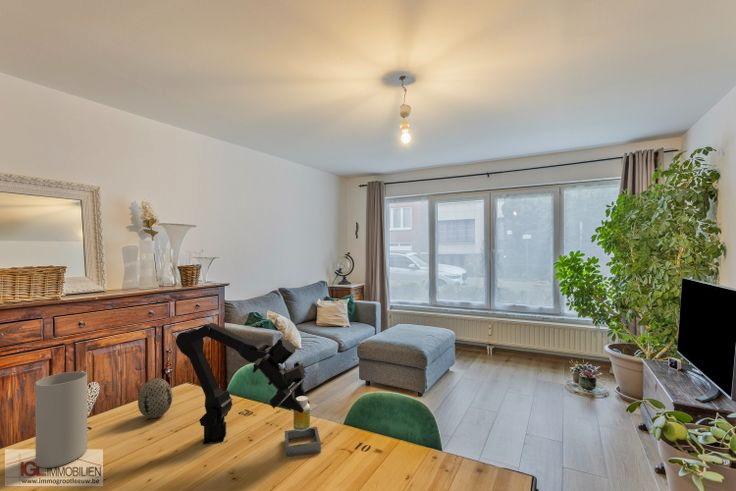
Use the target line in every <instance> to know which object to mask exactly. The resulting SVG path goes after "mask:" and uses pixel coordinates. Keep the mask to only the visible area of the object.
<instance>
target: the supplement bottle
mask: <svg viewBox="0 0 736 491" xmlns="http://www.w3.org/2000/svg"><path fill="white" fill-rule="evenodd" d="M306 396H307V395H306ZM306 396H299V397H297V398H296V399H297V401H298V402H299V404H300V405H301V406H302V408H303V410H304V411H303V412H302V413H300V412H298V411H295V410H293V430H296V431H305V430H307V429H309V428H311V405H310V403H309V404H308V400H309V398H308V396H307V397H306Z"/></svg>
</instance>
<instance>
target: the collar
mask: <svg viewBox="0 0 736 491" xmlns="http://www.w3.org/2000/svg"><path fill="white" fill-rule="evenodd" d="M310 438H314V441H313V442H308V443H300V444H294V445H293V444H292V445H290V444H289V442H290V441H296V440H304V439H310ZM284 450H285V458H286V459H287V458H293V457H300V456H306V455H312V454H318V453H319V454H320V453H322V442H321V439H320V434H319V430H318V427H317V426H312V427H311V426H310V427H309V429H307V430H305V431H296V430H295V429H290V430H284Z"/></svg>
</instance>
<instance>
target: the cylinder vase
mask: <svg viewBox="0 0 736 491" xmlns="http://www.w3.org/2000/svg"><path fill="white" fill-rule="evenodd" d="M87 450H88V373H87V372H86V371H69V372H68V371H67V372H61V373H55V374H52V375H49V376H45V377H43V378H40V379H38V380H37V381H36V382H35V465H36V466H37V467H39V468H41V469H48V468H49V469H50V468H56V467H57V468H58V467H61V466H64V465H67V464H69V462H70V463H72V462H74V461H76V460H77V458H78V459H80V458H81V457H82V456H83V455H85V453H87ZM75 459H76V460H75ZM73 460H74V461H73ZM71 461H72V462H71Z"/></svg>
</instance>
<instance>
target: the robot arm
mask: <svg viewBox="0 0 736 491" xmlns="http://www.w3.org/2000/svg"><path fill="white" fill-rule="evenodd" d="M205 338H209V339H212V340H214V341H215V342H216V343H219V344H222V345H224V346H225V347H229V348H230V349H231V350H232V349H233V350H235V351H236V352H237V353H238V354H239V356H240V357H241V358H242V359H243V360H246V362H248V363H254V364H253V369H252V373H253V374H255V373H256V372H258V371H260V372H261V374H263V376H264V377H265V378H266V379H267V380H268V383H267V384H268V385H269V386H273V388H275V389H276V390H277V391H276V392H275V393H276V394H274V395H273V397H271V398H270V400H269V405H270V407H271V408H273V409H274V410H275V408H277V407H284V408H287V409H290V410H293V411H294V410H295V411H298V412H300V413H302V412H303V411H304V410H303V408H302V406H301V405H300V404H299V402H298V401H297V399H296V398H297V397H299V396H306V397H307V398H308V396H307V394H306V392H305V390H304V382H305V378H306V373H307V372H306V369H305V367H306V365H305V364H303V363H302V362H301V361H296V362H294V364H293V367H291V368H290V369H288V367H282V366H281V365H283V364H285V363H286V362H287V361H288V359H290V358H291V357H292V356H293V355H294V354H295V353H296V347H295V345H294V344H293V343H292V342H290V341H289V340H286V339H284V338H283V337H279V339H278V340H276V342H275V343H274V345H270V344H266V343H265V342H263V341H262V340H258V339H253V338H245V337H243V336H240V335H239V334H236V333H234V332H232V331H230V330H228V329H226V328H224V327H221V326H220V325H218V324H216V323H213V322H210V323H207V324H204V325H203V326H201V327H198V328H191V329H188V330H185V331H182V332H179V334H177V336H176V338H175V345H176V346H177V349H179V351H180V352H181V353H182V354H183V355H184V356H185V357H187V358H188V359H189V362H190V364H191V366H192V369H193V370H194V373H195V376H196V378H197V381H198V383H199V385H200V387H201V389H202V392H203V393H204V397H205V398H204V410H205V413H204V415H202V416H201V418H200V419H199V423H200V426H201V427H203V441H202V444H203V445H207V444H215V443H222V442H224V440H225V437H226V436H227V421H225V419H226V418H225V417H227V416H228V413H229V412H230V411H231V410H232V407H233V402H232V401H233V398H232V397H231V394H230V392H229V390H228V389H226V390H225V391H224V390H223V389H221V387H220V386H219V384H218V381H217V379H216V377H215V375H214V372H213V370H212V368H211V366H210V364H209V361H208V359H207V356H206V353H205V352H204V346H205V345H204V344H205V341H204V339H205ZM268 355H269V356H268ZM260 359H261V360H260ZM259 360H260V361H259ZM257 361H258V362H257ZM308 404H309V405H310V400H309V399H308Z"/></svg>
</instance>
